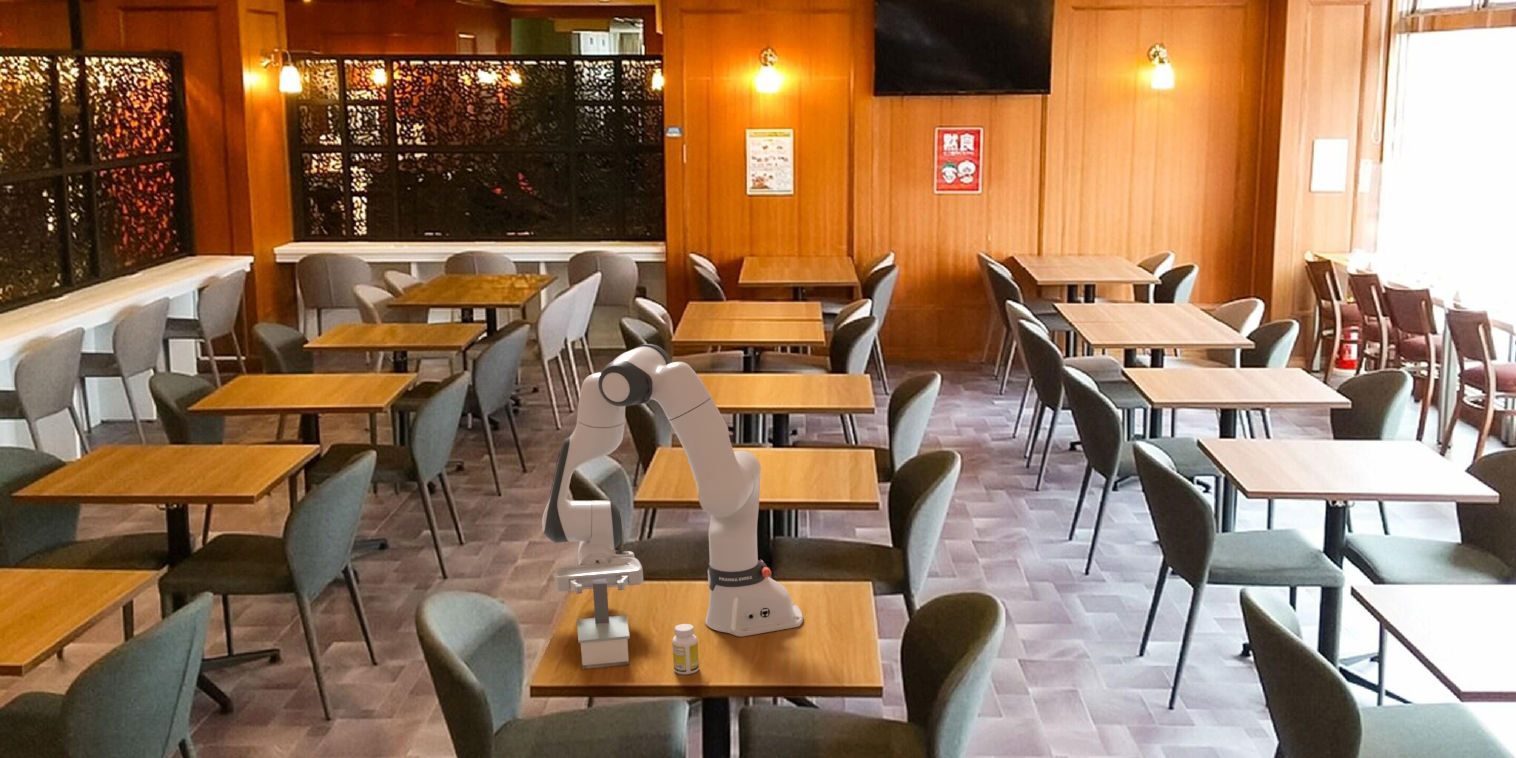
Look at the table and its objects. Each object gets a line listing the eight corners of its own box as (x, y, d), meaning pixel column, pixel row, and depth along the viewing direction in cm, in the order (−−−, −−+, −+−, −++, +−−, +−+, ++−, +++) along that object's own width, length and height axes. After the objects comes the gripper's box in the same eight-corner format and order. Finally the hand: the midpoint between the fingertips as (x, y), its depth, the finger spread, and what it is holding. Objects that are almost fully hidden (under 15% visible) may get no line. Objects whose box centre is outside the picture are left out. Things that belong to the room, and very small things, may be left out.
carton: (581, 648, 321) (579, 623, 319) (625, 644, 322) (624, 619, 321) (582, 668, 310) (580, 642, 309) (628, 664, 311) (627, 638, 310)
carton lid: (577, 621, 320) (574, 580, 317) (626, 617, 321) (624, 576, 319) (578, 643, 308) (575, 600, 306) (629, 638, 310) (627, 595, 307)
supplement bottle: (697, 663, 311) (695, 621, 309) (700, 673, 306) (698, 630, 303) (672, 666, 310) (670, 623, 308) (675, 676, 305) (673, 633, 302)
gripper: (551, 558, 333) (552, 579, 320) (639, 550, 336) (643, 571, 322) (553, 584, 335) (554, 605, 321) (641, 576, 337) (645, 597, 324)
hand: (599, 588), depth 322 cm, fingers open, 8 cm apart
